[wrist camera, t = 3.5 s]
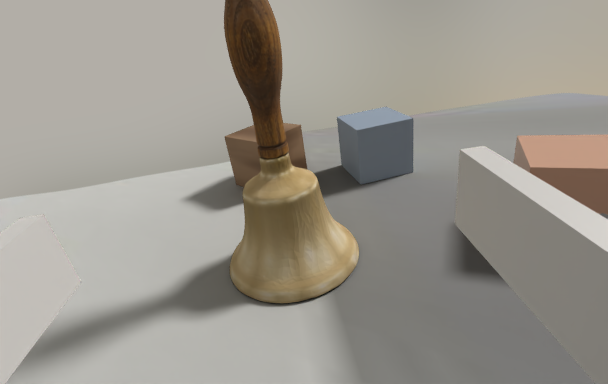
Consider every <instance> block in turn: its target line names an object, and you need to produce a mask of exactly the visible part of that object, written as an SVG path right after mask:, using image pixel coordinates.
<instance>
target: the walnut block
mask: <svg viewBox="0 0 608 384" xmlns="http://www.w3.org/2000/svg"><path fill="white" fill-rule="evenodd" d="M283 125H284V130H285V135H286V141H287V143H288V147H289V151H288V153H289V156H290V161H291V164H292V165H293V166H295V167H298V168H303V169H307V165H306V158H305V151H304V144H303V137H302V130H301V125H296V124H288V123H283ZM225 141H226V145H227V149H228V153H229V157H230V161H231V165H232V169H233V173H234V177H235V181H236V185H239V186H242V187H244V186H245V184H246V183H247V182H248V181H249V180H250V179H252V178H253V177H255V176H256V175H258V174H259V173H260V172H261V165H260V156H259V154H258V144H257V141H256V135H255V128H254V125H253V126H250V127H247V128H245V129H242V130H240V131H237V132H235V133H232V134H230V135H227V136H225Z"/></svg>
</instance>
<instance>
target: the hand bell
mask: <svg viewBox="0 0 608 384" xmlns="http://www.w3.org/2000/svg"><path fill="white" fill-rule="evenodd" d="M224 29H225V38H226V42H227V47H228V52H229V57H230V61H231V64H232V67H233V70H234V73H235V75H236V78H237V80H238V83H239V85H240V87H241V89H242V91H243V93H244V95H245V96H246V99H247V101H248V103H249V106H250V109H251V112H252V116H253V122H254V128H255V135H256V141H257V144H258V154H259V156H260V165H261V172H260V173H259V174H258V175H256V176H255V177H253V178H252V179H250V180H249V181H248V182H247V183H246V184H245V186H244V189H243V202H244V213H245V230H244V236H243V239H242V241H241V242H240V243H239V245H238V246H237V247H236V249H235V251H234V253H233V256H232V258H231V263H230V276H231V279H232V281H233V283H234V285H235V286H236V287H237V289H238V290H240V291H241V292H242V293H244V294H245V295H247V296H249V297H252V298H254V299H257V300H259V301H264V302H270V303H291V302H299V301H302V300H306V299H310V298H313V297H317V296H320V295H322V294H324V293H326V292H328V291H330V290H331V289H333V288H335V287H337V286H338V285H340V284H341V283H342V282H343V281H344V280H345V279H346V278H347V277H348V276H349V275H350V274H351V272H352V271H353V270H354V268H355V267H356V264H357V262H358V257H359V248H358V244H357V242H356V239H355V238H354V237H353V235H352V234H351V233H350V232H349V231H348V230H347V229H346V228H345V227H344V226H342V225H341V224H339V223H338V222H336V221H335V220H334V219H333V218H332V217H331V215H330V213H329V211H328V210H327V207H326V205H325V202H324V200H323V197H322V194H321V190H320V187H319V183H318V179H317V177H316V176H315V174H314V173H312V172H311V171H309V170H307V169H303V168H298V167H295V166H293V165H292V164H291V161H290V156H289V153H288V151H289V147H288V143H287V141H286V135H285V130H284V125H283V120H282V115H281V109H280V89H281V81H282V53H281V43H280V37H279V32H278V27H277V23H276V20H275V17H274V14H273V11H272V9H271V7H270V4H269V2H268V0H225V12H224Z"/></svg>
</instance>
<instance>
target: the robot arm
mask: <svg viewBox="0 0 608 384" xmlns="http://www.w3.org/2000/svg"><path fill="white" fill-rule="evenodd" d="M455 225H456V226H457V227H458V228H459V229H460V230H461V232H462V233H463V234H464V235H465V236H466V237H467V238H468V240H469V241H470V242H471V243H472V244H473V245H474V246H475V248H476V249H477V250H478V251H479V252H480V253H481V254H482V255H483V257H484V258H485V259H486V260H487V261H488V262H489V263H490V265H491V266H492V267H493V268H494V269H495V270H496V271H497V272H498V274H499V275H500V276H501V277H502V278H503V279H504V280H505V282H506V283H507V284H508V285H509V286H510V287H511V288H512V289H513V291H514V292H515V293H516V294H517V295H518V296H519V297H520V299H521V300H522V301H523V302H524V303H525V304H526V305H527V306H528V308H529V309H530V310H531V311H532V312H533V313H534V314H535V316H536V317H537V318H538V319H539V320H540V321H541V322H542V323H543V325H544V326H545V327H546V328H547V329H548V330H549V331H550V333H551V334H552V335H553V336H554V337H555V338H556V339H557V340H558V342H559V343H560V344H561V345H562V346H563V347H564V348H565V350H566V351H567V352H568V353H569V354H570V355H571V356H572V357H573V359H574V360H575V361H576V362H577V363H578V364H579V365H580V367H581V368H582V369H583V370H584V371H585V372H586V373H587V374H588V376H589V377H590V378H591V379H592V380H593V381H594V382H595V384H608V215H607V214H604V213H601V214H598V213H596V212H595V211H593V210H591V209H590V208H588V207H586V206H584V205H583V204H581V203H579V202H578V201H576V200H574V199H573V198H571V197H569V196H568V195H566V194H564V193H563V192H561V191H559V190H558V189H556V188H554V187H553V186H551V185H549V184H547V183H546V182H544V181H542V180H541V179H539V178H537V177H536V176H534V175H532V174H531V173H529V172H527V171H526V170H524V169H522V168H521V167H519V166H517V165H516V164H514V163H512V162H511V161H509V160H507V159H505V158H504V157H502V156H500V155H499V154H497V153H495V152H494V151H492V150H490V149H489V148H487V147H485V146H479V147H473V148H466V149H460V154H459V169H458V184H457V198H456V213H455ZM80 284H81V280H80V278H79V276H78V275H77V273H76V271H75V269H74V267H73V266H72V264H71V262H70V260H69V258H68V257H67V255H66V253H65V251H64V249H63V247H62V246H61V244H60V242H59V240H58V238H57V237H56V235H55V233H54V231H53V229H52V227H51V226H50V224H49V222H48V220H47V218H46V217H45V215H44V214H41V215H35V216H29V217H22V218H19V219H18V220H16V221H15V222H14V223H12V224H11V225H10V226H8V227H7V228H6V229H4V230H3V231H2V232H1V233H0V384H5V383H6V382H7V380H8V379H9V378H10V376H11V375H12V374H13V372H14V371H15V370H16V368H17V367H18V366H19V364H20V363H21V362H22V360H23V359H24V358H25V357H26V355H27V354H28V353H29V351H30V350H31V349H32V347H33V346H34V345H35V343H36V342H37V341H38V339H39V338H40V337H41V335H42V334H43V333H44V331H45V330H46V329H47V327H48V326H49V325H50V323H51V322H52V321H53V319H54V318H55V317H56V315H57V314H58V313H59V311H60V310H61V309H62V307H63V306H64V305H65V303H66V302H67V301H68V299H69V298H70V297H71V295H72V294H73V293H74V291H75V290H76V289H77V287H78V286H79V285H80Z"/></svg>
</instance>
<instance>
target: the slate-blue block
mask: <svg viewBox="0 0 608 384" xmlns="http://www.w3.org/2000/svg"><path fill="white" fill-rule="evenodd" d="M337 122H338V133H339V143H340V153H341V164H342V166H343V167H344V168H345V169H346V170H347V171H348V172H349V173H350V174H351V175H352V176H353V177H354V178H355V179H356V180H357V181H358V182H359V183H360V184H365V183H370V182H374V181H378V180H382V179H386V178H391V177H395V176H399V175H403V174H407V173H412V172H413V118H412V117H409V116H407V115H405V114H402V113H400V112H397V111H395V110H392V109H390V108H388V107H383V108H378V109H374V110H368V111H363V112H358V113H354V114H349V115H344V116H339V117H337Z"/></svg>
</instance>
